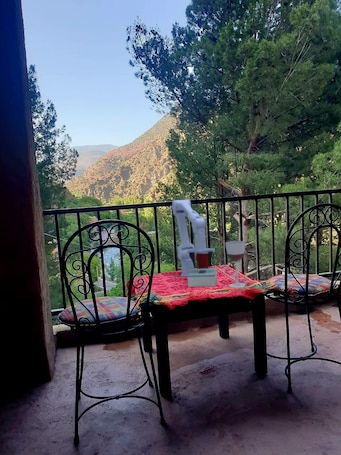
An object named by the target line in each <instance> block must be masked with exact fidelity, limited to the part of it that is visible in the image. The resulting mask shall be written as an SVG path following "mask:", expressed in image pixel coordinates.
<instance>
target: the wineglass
mask: <svg viewBox="0 0 341 455" xmlns="http://www.w3.org/2000/svg"><path fill="white" fill-rule="evenodd" d="M225 249H226V255H227V257H228V258H229V259H230V260H231V261H234V263H235V278H236V282H235V283H231V284H229V285H228V286H229V287H231V288H233V289H235V288H245V287H246V286H245V285H246V284H245V283H243V282H242V283H241V282H239V272H238V262H239V261H241V260H242V259H243V258H244V256H245V251H246V242H245V241H244V240H231V241H226V242H225ZM244 286H245V287H244Z"/></svg>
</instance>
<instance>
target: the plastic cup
mask: <svg viewBox="0 0 341 455" xmlns="http://www.w3.org/2000/svg"><path fill="white" fill-rule="evenodd" d="M203 252H204V251H203ZM195 261H196V264H197V269H207V268H209V267H208V253H196V258H195Z"/></svg>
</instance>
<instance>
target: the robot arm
mask: <svg viewBox="0 0 341 455" xmlns="http://www.w3.org/2000/svg"><path fill="white" fill-rule="evenodd" d="M171 208H172V209H171V210H172V213H173V216H175V218H176V222H177V223H176V224H177V228H178V233H179V237H180V238H179V239H180V244H179V246H178V247H177V258H178V260H180V263H181V275H180V277H181V278H182V277H188V276H187V275H188V273H189V271H190V269H195V267H196V253H208V268H210V266H211V261H212V257H213V254H215V253H216V248H212V247H210V248H208V247H207V243H206V242H207V241H206V240H207V238H206V229H207V226H208V225H207V224H208V223H207V219H206V217H203V216H202V217H201V215H200V214H199V213H198V212H197V211H196V210H193V208H192V202H191V200H190V199H189V198H187V199H177V200H176V199H174V200H173V201H172V203H171ZM186 215H187V219H188V220H189V221H190V222H191V228H192V232H193V234H194V235H193V236H194V244H193V243H191V242H190V238H189V233H188V232H189V231H188V228H187V222H186ZM203 251H204V252H203Z"/></svg>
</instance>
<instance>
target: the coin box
mask: <svg viewBox="0 0 341 455" xmlns="http://www.w3.org/2000/svg"><path fill="white" fill-rule="evenodd" d="M217 276H218V275H217V268H216V267H214V268H213V267H212V268H210V267H208V268H207V269H198V268H194V269H190V271H189V273H188V275H187V276H186V277H187V287H188V288H193V287H195V288H196V287H216V285H217V281H218V280H217V279H218V277H217Z"/></svg>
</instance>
